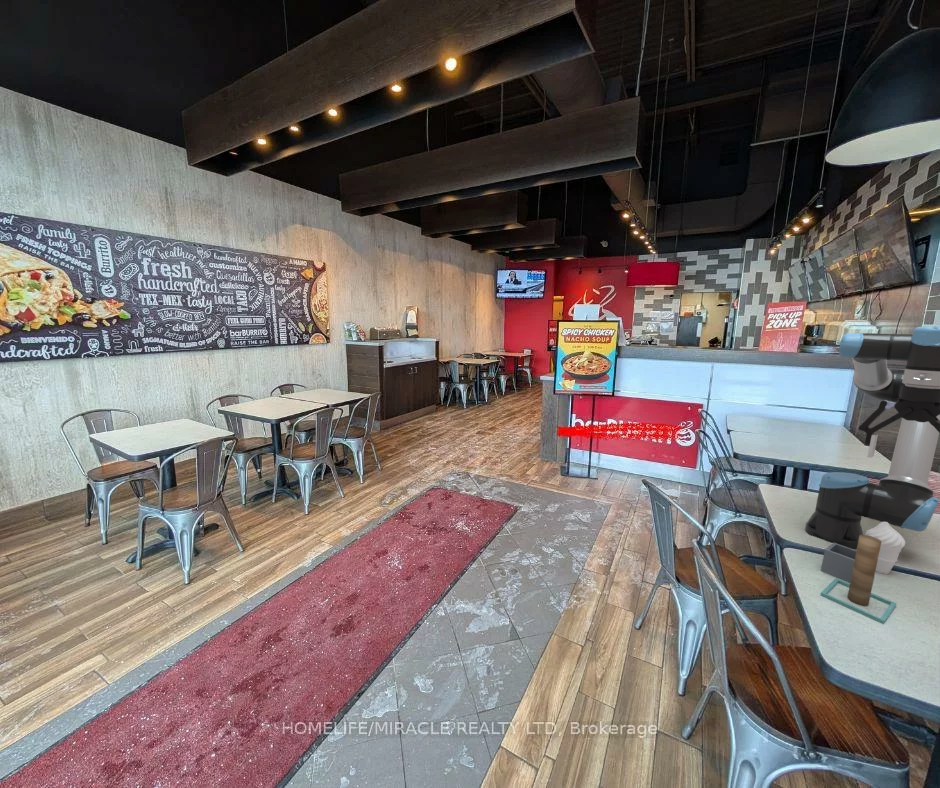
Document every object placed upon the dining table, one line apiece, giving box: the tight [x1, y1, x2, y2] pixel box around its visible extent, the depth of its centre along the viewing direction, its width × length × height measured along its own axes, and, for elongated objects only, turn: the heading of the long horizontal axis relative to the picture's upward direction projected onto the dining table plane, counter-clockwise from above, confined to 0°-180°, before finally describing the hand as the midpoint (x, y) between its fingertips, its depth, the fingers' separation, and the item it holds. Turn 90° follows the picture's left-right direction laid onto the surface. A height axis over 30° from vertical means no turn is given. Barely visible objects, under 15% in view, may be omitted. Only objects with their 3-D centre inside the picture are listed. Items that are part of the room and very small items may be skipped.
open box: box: [820, 542, 857, 584], centre depth 113 cm, size 8×8×8 cm
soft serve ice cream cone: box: [864, 522, 906, 575], centre depth 115 cm, size 8×8×16 cm
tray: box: [819, 577, 897, 625], centre depth 102 cm, size 12×12×2 cm
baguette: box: [847, 534, 881, 607], centre depth 101 cm, size 4×4×18 cm
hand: (905, 463), depth 104 cm, fingers open, 13 cm apart
